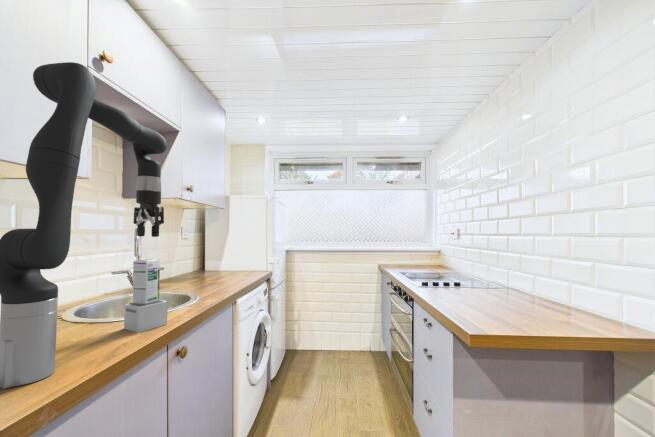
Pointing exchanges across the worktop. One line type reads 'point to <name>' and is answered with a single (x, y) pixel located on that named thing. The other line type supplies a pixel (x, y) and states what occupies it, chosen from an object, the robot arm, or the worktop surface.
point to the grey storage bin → (145, 316)
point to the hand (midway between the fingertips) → (148, 236)
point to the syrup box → (146, 281)
